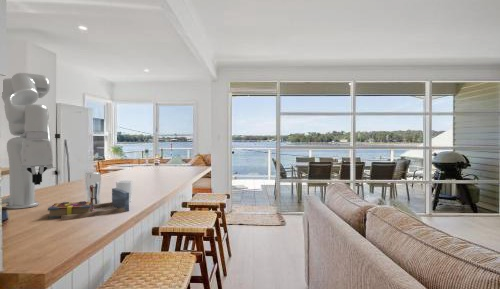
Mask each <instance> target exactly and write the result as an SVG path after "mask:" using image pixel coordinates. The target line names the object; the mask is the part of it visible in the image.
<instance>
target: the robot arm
mask: <svg viewBox="0 0 500 289" xmlns="http://www.w3.org/2000/svg"><path fill="white" fill-rule="evenodd" d="M2 80H3V92H2V96H1V99H2V101H3V103H4V105H3V106H4V113H5V118H6V119H7V121H8V129H9V132H10V134H11V135H12V136H14V137H12V138H9V140H7V141H6V152H7V157H8V166H9V167H8V169H9V170H8V171H9V172H8V174H9V196H8V197H7V198H3V199H2V198H1V199H2V204H1V205H4V204H5V208H6V209H27V208H33V207H36V206H39V205H40V204H39V203H40V202H39V201H36V200H35V199H36V198H35V197H36V195H35V192H36V190H35V189H36V186H37V185H41V183H43V174H44V173H45V171H47V170H49V169H53V168H54V165H53V163H54V156H53V153H54V152H53V143H52V135H51V134H52V133H51V128H50V123H49V119H50V118H49V117H50V113H49V111H48V107H47V106H46V105H45V104H38V103H37V104H35V103H36V102H37V101H38V99H43V98H44V97H45V96H46V95H47V94H49V92H50V88H51V83H50V80H49V78H48V77H47V76H46V75H43V74H36V73H28V72H18V73H15V74H13V75H12V76H11V77H10V78H4V79H2ZM36 167H38V171H37V172H36Z"/></svg>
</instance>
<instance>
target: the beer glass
mask: <svg viewBox="0 0 500 289" xmlns="http://www.w3.org/2000/svg"><path fill="white" fill-rule="evenodd" d="M84 176H85V177H84V186H85V191H86V202H93V205H94V204H101V199H100V194H101V187H102V175H101V172H99V171H93V172H89V171H88V172H85V175H84Z"/></svg>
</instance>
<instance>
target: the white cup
mask: <svg viewBox="0 0 500 289" xmlns="http://www.w3.org/2000/svg"><path fill="white" fill-rule="evenodd" d="M133 184H134V180H118V181H115V188H117V189H120V190H123V191H126V192H129V203H130V202H133V187H134V186H133Z"/></svg>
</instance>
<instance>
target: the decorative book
mask: <svg viewBox="0 0 500 289" xmlns="http://www.w3.org/2000/svg"><path fill="white" fill-rule="evenodd" d="M93 206H94V205H93V202H87V200H86V201H85V200H84V201H78V202H69V201H68V202H67V201H63V202H60V203H59V202H58V203H57V202H56V203H54V204H52V206H49V207H48V208H47V211H49V216H48V217H47V219H48V220H51V219H61V216H63V215H71V214H78V213H86V212H94V211H95V208H94V207H93ZM93 208H94V209H93Z"/></svg>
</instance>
